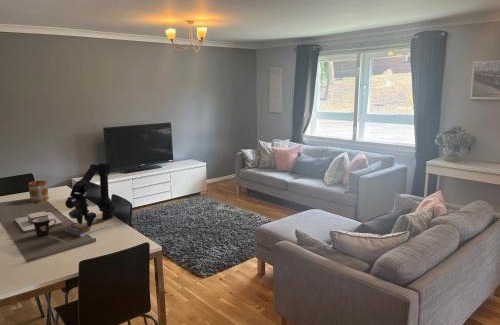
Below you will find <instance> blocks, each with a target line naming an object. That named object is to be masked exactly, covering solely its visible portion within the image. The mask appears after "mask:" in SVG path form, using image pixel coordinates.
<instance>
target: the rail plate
mask: <svg viewBox="0 0 500 325" xmlns="http://www.w3.org/2000/svg"><path fill="white" fill-rule="evenodd" d="M94 223H97V219H94V220H93V222H92V224H94ZM82 224H83V225H86V226H88V225H87V221H85V222H84V223H83V222H82ZM110 227H112V224H111V223H109V224H108V223H107V224H105V225H103V226H100V227H97V228H94V229H90V231H88V232H85V233H84V230H81V229H78V228H74V227H71V225H70V226H67V227H65V232H66V233H69V234H71V235H74V236H77V237H81V238H82V237H85V236H88V235H90V234H93V233H96V232H98V231H102V230H104V229H107V228H110Z"/></svg>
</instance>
